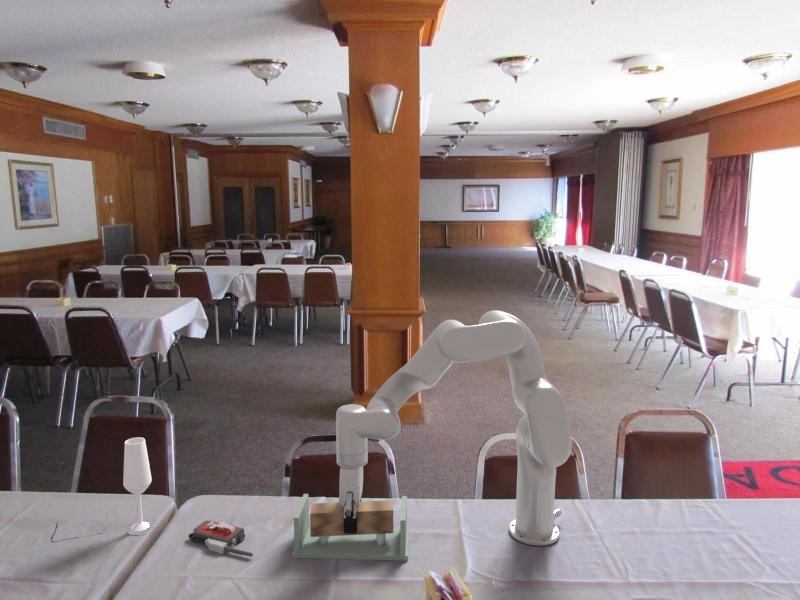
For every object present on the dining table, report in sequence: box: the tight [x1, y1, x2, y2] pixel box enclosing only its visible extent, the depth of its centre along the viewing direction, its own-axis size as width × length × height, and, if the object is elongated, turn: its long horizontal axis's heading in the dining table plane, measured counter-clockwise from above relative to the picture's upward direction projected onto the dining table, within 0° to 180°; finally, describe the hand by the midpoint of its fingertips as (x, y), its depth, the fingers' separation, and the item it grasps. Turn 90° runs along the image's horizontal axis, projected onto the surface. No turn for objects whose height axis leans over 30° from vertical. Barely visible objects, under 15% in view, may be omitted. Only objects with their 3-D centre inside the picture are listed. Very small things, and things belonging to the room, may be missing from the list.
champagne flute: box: [122, 436, 153, 531], centre depth 153 cm, size 7×7×24 cm
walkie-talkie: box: [188, 520, 254, 557], centre depth 148 cm, size 9×4×20 cm
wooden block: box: [309, 499, 394, 537], centre depth 146 cm, size 20×5×6 cm, turn 95°
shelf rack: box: [291, 493, 410, 562], centre depth 147 cm, size 28×12×10 cm, turn 88°
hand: (352, 522), depth 147 cm, fingers open, 9 cm apart
